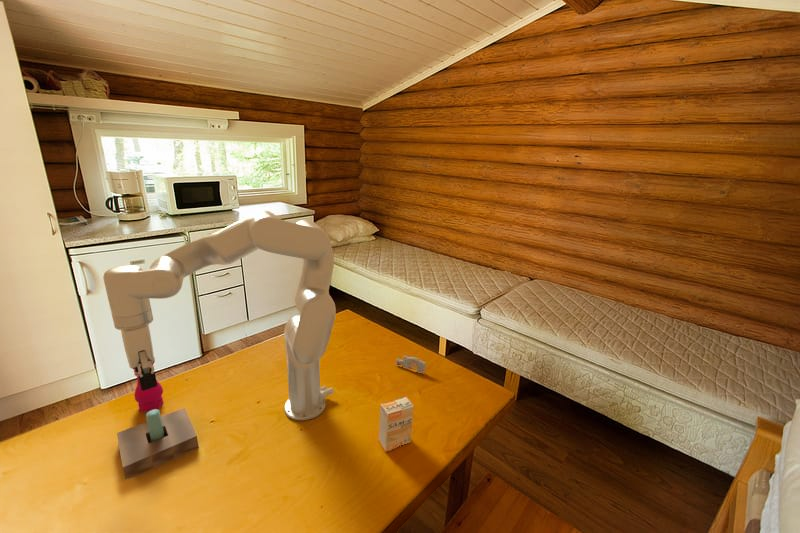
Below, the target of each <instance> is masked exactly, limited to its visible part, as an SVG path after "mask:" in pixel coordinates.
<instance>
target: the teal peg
mask: <svg viewBox="0 0 800 533" xmlns="http://www.w3.org/2000/svg"><path fill="white" fill-rule="evenodd" d="M160 412H161V410H160V409H159V408H157V409H154V410H151V411H149V412H146V414H145V418H146V422H147V424H148V428H149V433H150V438H151V442H154V441H156V440H159V439H161V438H163V437H165V436H164V431H163V426H162V421H161V416H162V415H161V413H160Z"/></svg>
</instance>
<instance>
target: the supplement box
mask: <svg viewBox="0 0 800 533" xmlns="http://www.w3.org/2000/svg"><path fill="white" fill-rule="evenodd" d="M379 408H380V410H379V425H378V426H379V427H378V428H379V429H378V431H379V432H378V442H379V444H380V445H381V447H382V449H383V451H384V453H387V451H388V452H390V451H392V449H393V450H395V449H398V448H400V447H402V446H401V445H403V446H405V445H404V444H407V443H410V442H411V439H412V427H413V416H414V415H413V414H414V404H412V402H411V400H410V399H408V397H407V396H405V397H401V398H397V399H393V400H390V401H386V402H383V403H380V407H379ZM410 444H411V443H410ZM407 445H408V444H407ZM399 446H400V447H399ZM397 447H398V448H397ZM394 448H395V449H394Z"/></svg>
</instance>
